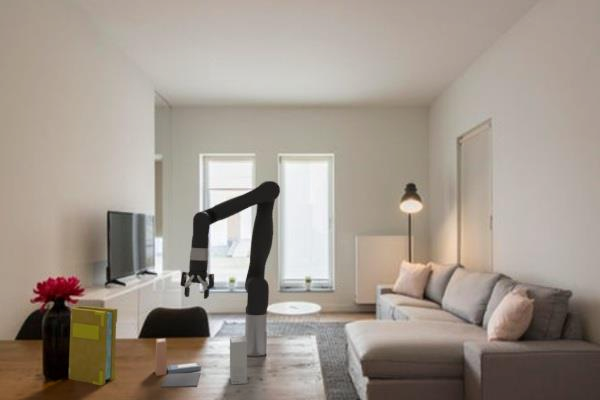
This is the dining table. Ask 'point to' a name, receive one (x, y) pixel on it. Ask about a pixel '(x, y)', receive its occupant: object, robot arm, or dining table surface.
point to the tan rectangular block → (161, 356)
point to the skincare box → (238, 360)
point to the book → (92, 344)
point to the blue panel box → (183, 368)
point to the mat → (181, 380)
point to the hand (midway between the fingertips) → (196, 297)
